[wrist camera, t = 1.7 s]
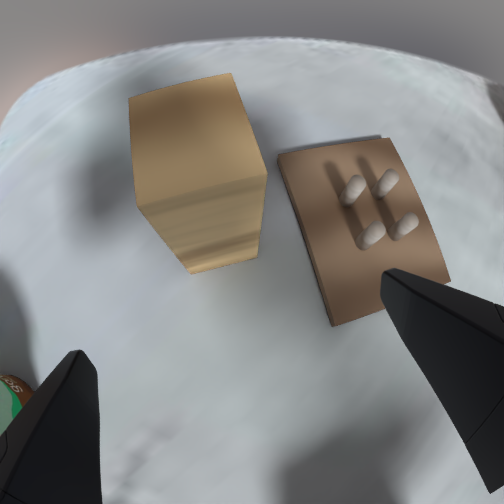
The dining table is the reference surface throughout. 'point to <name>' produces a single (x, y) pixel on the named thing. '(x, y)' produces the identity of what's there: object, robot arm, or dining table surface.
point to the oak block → (198, 171)
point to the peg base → (359, 222)
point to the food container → (12, 398)
